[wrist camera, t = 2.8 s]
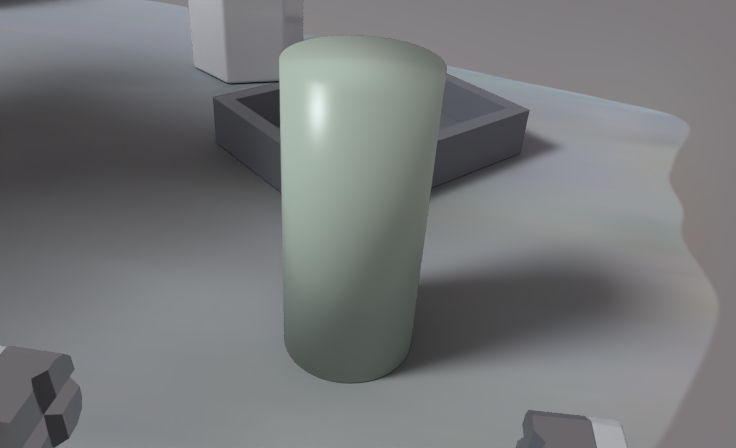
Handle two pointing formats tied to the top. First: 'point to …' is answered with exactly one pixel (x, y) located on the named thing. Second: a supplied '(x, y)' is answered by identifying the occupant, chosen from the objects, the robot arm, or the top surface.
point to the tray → (454, 145)
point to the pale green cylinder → (355, 198)
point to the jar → (244, 37)
